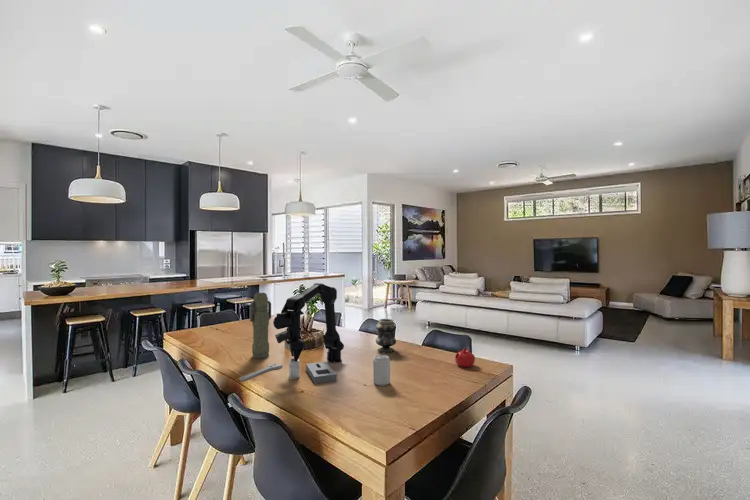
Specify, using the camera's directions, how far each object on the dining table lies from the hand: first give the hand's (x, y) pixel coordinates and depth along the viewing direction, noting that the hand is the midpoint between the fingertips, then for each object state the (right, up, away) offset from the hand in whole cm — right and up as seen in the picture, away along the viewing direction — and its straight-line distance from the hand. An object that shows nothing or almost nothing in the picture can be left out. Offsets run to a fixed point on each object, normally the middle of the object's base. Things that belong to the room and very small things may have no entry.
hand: (294, 358), depth 174 cm
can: (+40, -9, -8) cm, 42 cm away
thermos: (-26, -9, +33) cm, 43 cm away
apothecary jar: (+44, -8, +45) cm, 63 cm away
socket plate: (+12, -8, +2) cm, 15 cm away
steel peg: (0, -9, 0) cm, 9 cm away
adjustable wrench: (-18, -9, +7) cm, 21 cm away
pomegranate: (+83, -9, +17) cm, 86 cm away
